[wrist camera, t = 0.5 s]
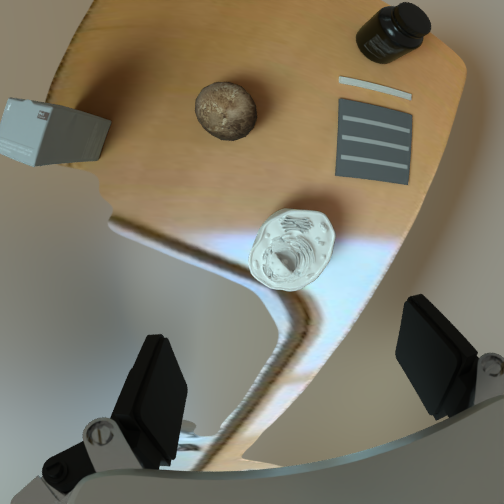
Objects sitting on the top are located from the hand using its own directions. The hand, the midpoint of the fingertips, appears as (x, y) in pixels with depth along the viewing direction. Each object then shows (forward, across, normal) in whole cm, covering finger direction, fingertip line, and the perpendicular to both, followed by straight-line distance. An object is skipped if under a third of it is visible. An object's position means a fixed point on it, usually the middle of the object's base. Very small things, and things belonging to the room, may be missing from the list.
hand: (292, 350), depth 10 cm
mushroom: (+30, +2, -12) cm, 32 cm away
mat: (+29, -18, -7) cm, 35 cm away
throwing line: (+29, -20, -15) cm, 38 cm away
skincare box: (+30, +23, -15) cm, 41 cm away
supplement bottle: (+30, -21, -23) cm, 43 cm away
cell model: (+30, -4, +6) cm, 30 cm away
